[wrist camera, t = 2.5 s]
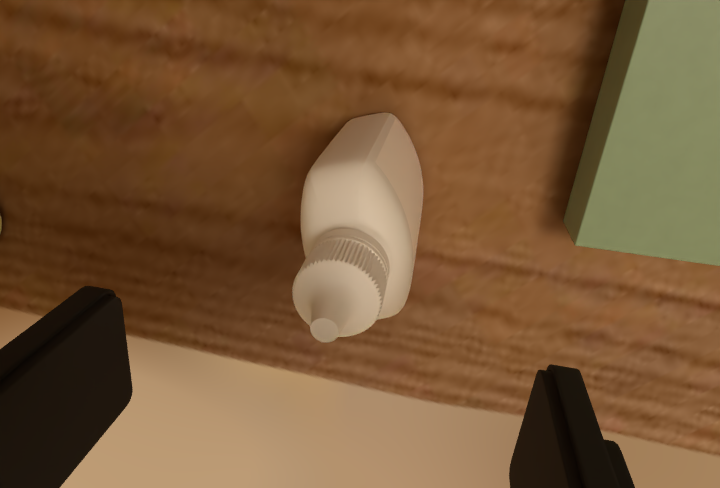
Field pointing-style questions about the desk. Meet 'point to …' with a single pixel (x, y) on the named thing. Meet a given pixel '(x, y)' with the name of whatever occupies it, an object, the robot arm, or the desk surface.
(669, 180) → the board
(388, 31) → the desk surface
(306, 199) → the eye dropper bottle
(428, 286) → the desk surface
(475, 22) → the desk surface
